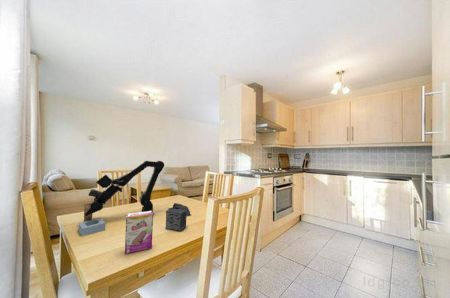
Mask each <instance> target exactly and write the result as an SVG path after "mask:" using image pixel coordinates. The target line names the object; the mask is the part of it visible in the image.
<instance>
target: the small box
mask: <svg viewBox="0 0 450 298" xmlns="http://www.w3.org/2000/svg"><path fill="white" fill-rule="evenodd" d="M186 211H187V210H180V209H170V210H168V209H167V210H166V211H165V230H168V231H174V232H178V233H179V232H180V233H182V231H184V230H185V229H186V228H187V216H186Z"/></svg>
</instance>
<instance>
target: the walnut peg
mask: <svg viewBox="0 0 450 298" xmlns="http://www.w3.org/2000/svg"><path fill="white" fill-rule="evenodd" d="M91 203H92V202H90V203H85V204H84V205H83V209H84V211H83V222H85V221H90V220H93V213H92V214H90V215H88V216H85V214H86V212H87V211H88V210H89V209H90V208H91Z"/></svg>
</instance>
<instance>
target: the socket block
mask: <svg viewBox="0 0 450 298" xmlns="http://www.w3.org/2000/svg"><path fill="white" fill-rule="evenodd" d="M77 231H78V232H79V234H80V236H81V237H85V236H89V235H91V234H92V235H93V234H97V233H100V232H103V231H106V222H105V221H104V219H102V218H101V217H100V218H95V219H92V220H90V221H85V222H84V221H82V222H78V230H77Z"/></svg>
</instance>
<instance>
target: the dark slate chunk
mask: <svg viewBox="0 0 450 298" xmlns="http://www.w3.org/2000/svg"><path fill="white" fill-rule="evenodd" d="M170 209H180V210H187V211H186V217H191V216H192V214H190V213H191V211H190V209H189V207H188V206H186V205H183V204H182V203H177V202H174V203H173V205H172V207H168V208H167V211H168V210H170Z"/></svg>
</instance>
